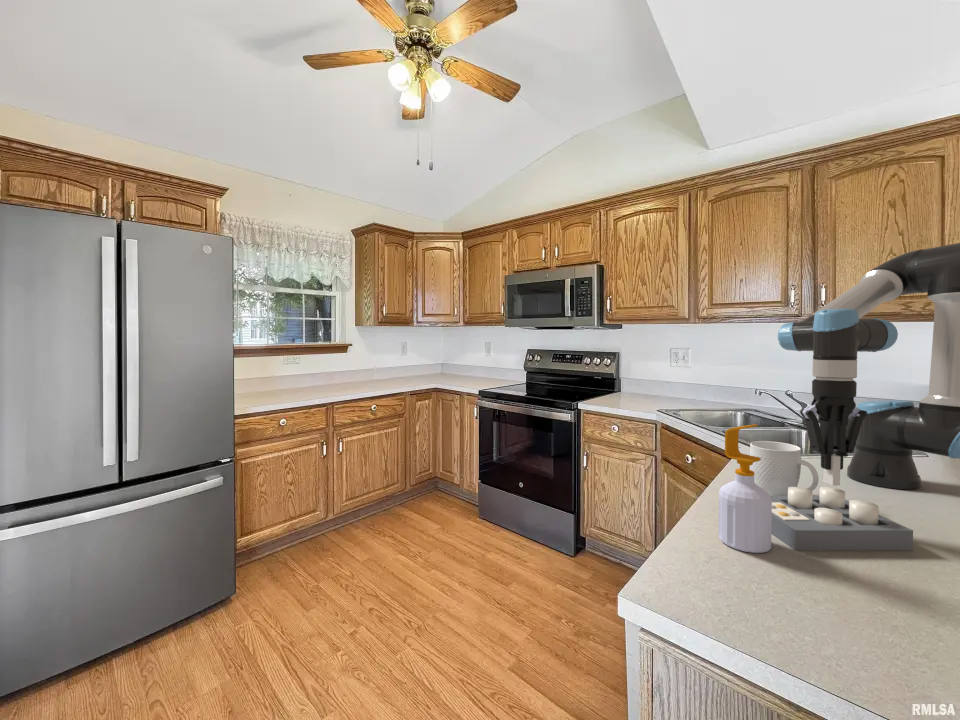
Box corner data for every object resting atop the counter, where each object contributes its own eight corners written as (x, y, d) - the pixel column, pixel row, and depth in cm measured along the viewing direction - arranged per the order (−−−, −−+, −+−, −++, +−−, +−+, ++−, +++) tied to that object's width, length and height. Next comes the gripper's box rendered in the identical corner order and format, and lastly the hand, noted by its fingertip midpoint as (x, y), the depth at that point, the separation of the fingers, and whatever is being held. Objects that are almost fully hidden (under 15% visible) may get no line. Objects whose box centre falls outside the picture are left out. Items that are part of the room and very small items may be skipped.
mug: (825, 500, 105) (826, 449, 104) (809, 510, 99) (809, 457, 98) (760, 484, 117) (761, 438, 117) (742, 492, 111) (742, 444, 111)
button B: (864, 520, 87) (865, 499, 87) (884, 530, 82) (884, 508, 82) (843, 520, 87) (843, 499, 87) (861, 530, 83) (861, 508, 82)
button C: (802, 505, 95) (802, 486, 95) (817, 513, 91) (817, 493, 91) (783, 505, 95) (783, 486, 95) (796, 513, 91) (797, 493, 91)
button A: (834, 505, 95) (834, 486, 95) (850, 513, 90) (850, 493, 90) (814, 505, 95) (814, 486, 95) (829, 513, 91) (829, 493, 90)
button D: (830, 528, 87) (830, 507, 87) (847, 538, 83) (848, 516, 83) (808, 528, 87) (809, 507, 87) (825, 538, 83) (825, 516, 83)
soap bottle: (755, 558, 78) (756, 430, 77) (709, 538, 86) (709, 422, 85) (781, 547, 82) (782, 425, 81) (734, 529, 90) (735, 418, 89)
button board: (836, 512, 98) (836, 494, 97) (912, 550, 80) (913, 528, 79) (741, 512, 99) (741, 494, 98) (795, 550, 81) (795, 528, 81)
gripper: (850, 377, 95) (847, 478, 96) (791, 377, 96) (789, 477, 96) (880, 380, 87) (876, 489, 88) (816, 380, 88) (814, 489, 89)
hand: (831, 483), depth 92 cm, fingers closed
